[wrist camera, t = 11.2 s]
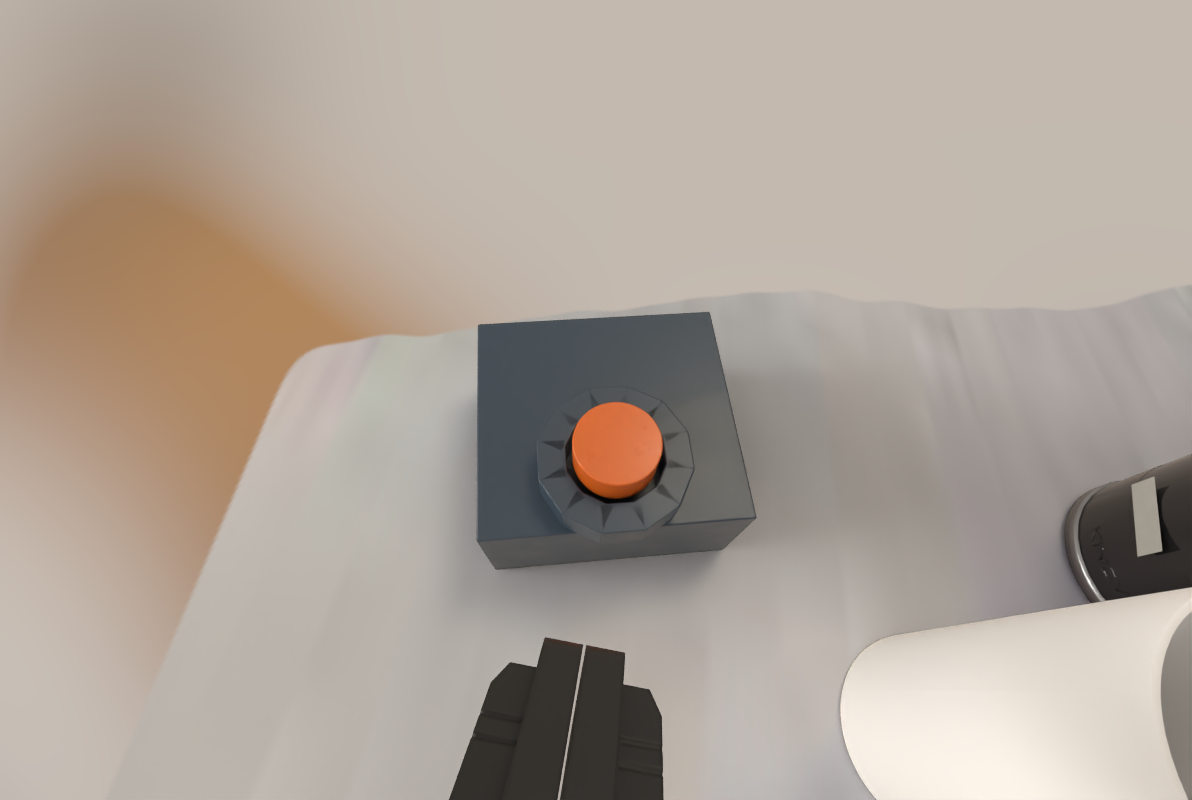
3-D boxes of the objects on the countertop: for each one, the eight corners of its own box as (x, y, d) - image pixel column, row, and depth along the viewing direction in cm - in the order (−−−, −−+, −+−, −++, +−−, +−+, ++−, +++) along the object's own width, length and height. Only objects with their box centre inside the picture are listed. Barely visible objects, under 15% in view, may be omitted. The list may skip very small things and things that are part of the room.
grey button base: (688, 371, 34) (718, 289, 27) (724, 560, 29) (773, 519, 22) (493, 383, 34) (471, 302, 26) (495, 581, 28) (468, 544, 21)
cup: (1012, 877, 23) (1684, 1170, 9) (822, 784, 25) (1157, 915, 11) (1025, 678, 27) (1524, 669, 13) (858, 606, 28) (1144, 525, 14)
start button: (650, 417, 24) (656, 398, 23) (663, 495, 23) (669, 481, 21) (569, 422, 24) (569, 404, 23) (575, 502, 22) (575, 488, 21)
